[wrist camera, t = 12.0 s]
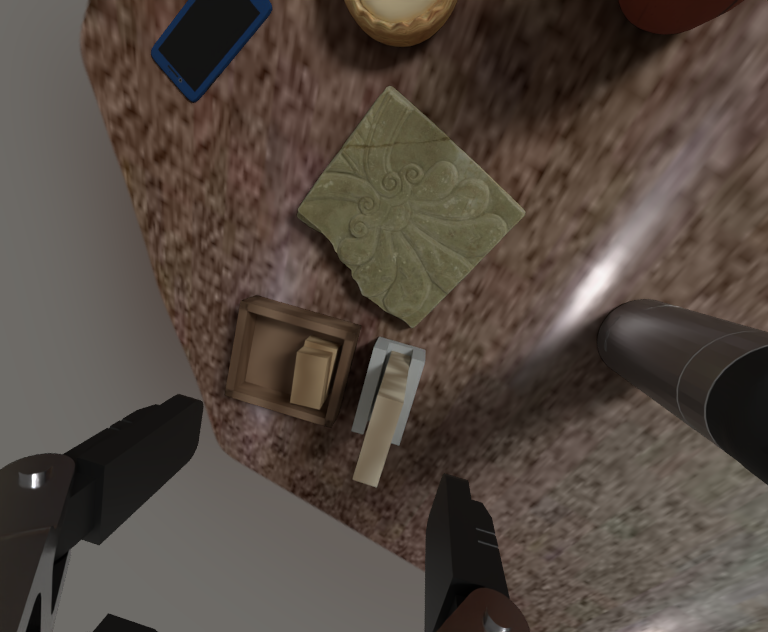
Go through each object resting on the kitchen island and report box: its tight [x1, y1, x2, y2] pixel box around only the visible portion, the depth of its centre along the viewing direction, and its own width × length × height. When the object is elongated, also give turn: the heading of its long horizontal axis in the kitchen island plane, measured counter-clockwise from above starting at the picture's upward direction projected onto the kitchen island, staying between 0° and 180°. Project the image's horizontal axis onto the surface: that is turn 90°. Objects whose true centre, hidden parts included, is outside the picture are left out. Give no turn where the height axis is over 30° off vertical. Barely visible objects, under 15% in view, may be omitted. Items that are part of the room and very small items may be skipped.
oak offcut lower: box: [304, 335, 342, 400], centre depth 45 cm, size 4×7×2 cm, turn 165°
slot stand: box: [351, 337, 425, 445], centre depth 45 cm, size 6×11×4 cm, turn 165°
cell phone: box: [151, 0, 272, 102], centre depth 41 cm, size 7×14×1 cm, turn 131°
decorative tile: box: [297, 86, 525, 328], centre depth 41 cm, size 19×20×4 cm
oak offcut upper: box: [290, 346, 333, 410], centre depth 43 cm, size 4×6×2 cm, turn 169°
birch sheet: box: [352, 351, 411, 487], centre depth 40 cm, size 2×9×13 cm, turn 165°
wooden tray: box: [225, 295, 361, 428], centre depth 46 cm, size 14×12×4 cm
